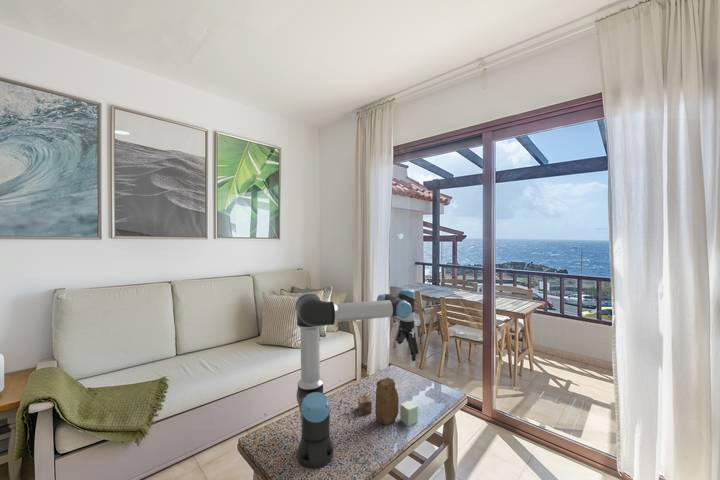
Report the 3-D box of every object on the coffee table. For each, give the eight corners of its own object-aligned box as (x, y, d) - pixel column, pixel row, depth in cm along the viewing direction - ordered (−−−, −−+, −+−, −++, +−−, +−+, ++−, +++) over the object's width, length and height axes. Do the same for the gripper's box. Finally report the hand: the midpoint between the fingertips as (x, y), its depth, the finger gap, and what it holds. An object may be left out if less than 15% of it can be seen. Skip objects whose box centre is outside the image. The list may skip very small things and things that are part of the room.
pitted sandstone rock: (382, 427, 145) (382, 386, 144) (373, 419, 151) (374, 379, 151) (400, 420, 150) (400, 380, 150) (391, 412, 157) (391, 374, 156)
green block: (408, 426, 146) (408, 410, 146) (400, 419, 151) (400, 404, 151) (417, 422, 149) (417, 406, 149) (409, 416, 154) (409, 400, 154)
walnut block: (359, 414, 155) (360, 402, 155) (358, 407, 161) (358, 396, 161) (371, 413, 156) (371, 401, 156) (369, 406, 162) (369, 395, 162)
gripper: (426, 326, 143) (425, 370, 143) (402, 312, 166) (402, 351, 167) (411, 327, 140) (411, 372, 141) (390, 313, 164) (389, 352, 164)
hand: (406, 361), depth 154 cm, fingers open, 13 cm apart
